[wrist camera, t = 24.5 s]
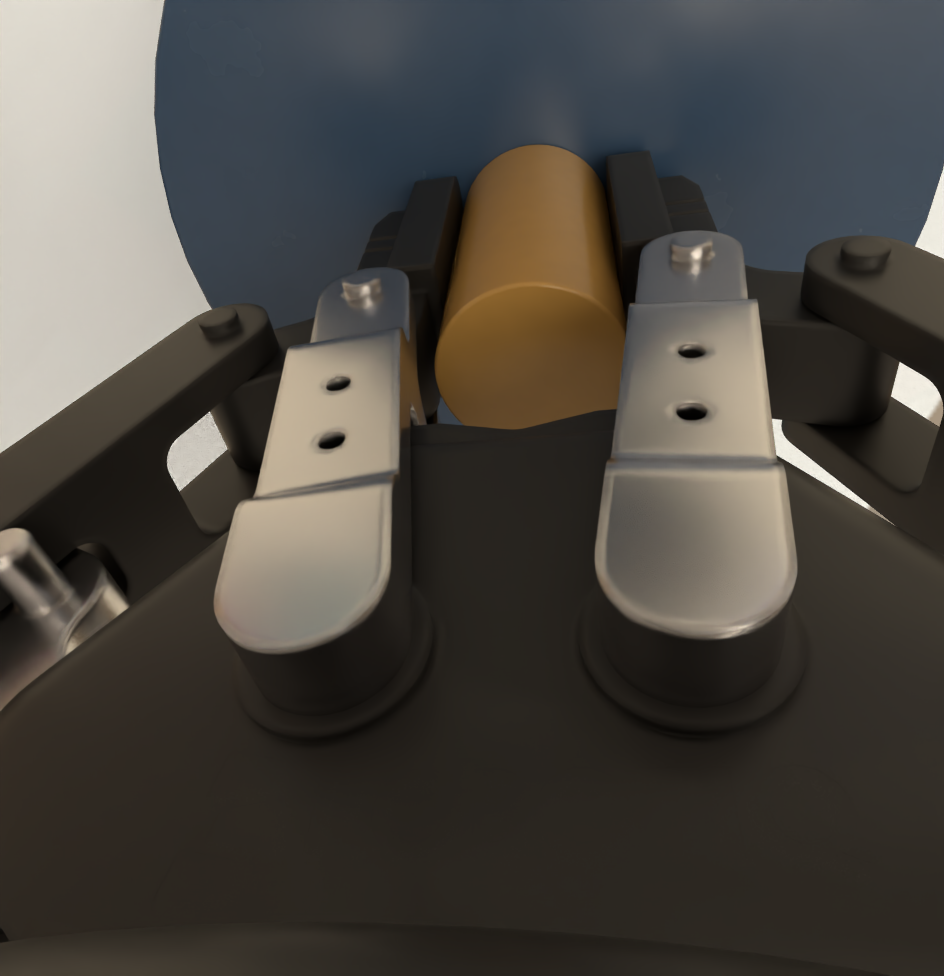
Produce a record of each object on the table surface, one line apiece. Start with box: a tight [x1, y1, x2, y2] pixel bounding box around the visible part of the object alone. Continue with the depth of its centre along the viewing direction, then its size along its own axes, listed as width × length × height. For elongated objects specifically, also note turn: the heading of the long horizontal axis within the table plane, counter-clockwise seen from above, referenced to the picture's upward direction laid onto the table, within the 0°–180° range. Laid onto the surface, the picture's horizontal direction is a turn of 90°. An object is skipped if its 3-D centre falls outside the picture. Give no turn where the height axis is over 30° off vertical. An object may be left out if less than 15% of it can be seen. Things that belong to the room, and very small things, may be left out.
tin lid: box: [154, 0, 944, 429], centre depth 12 cm, size 14×14×6 cm
